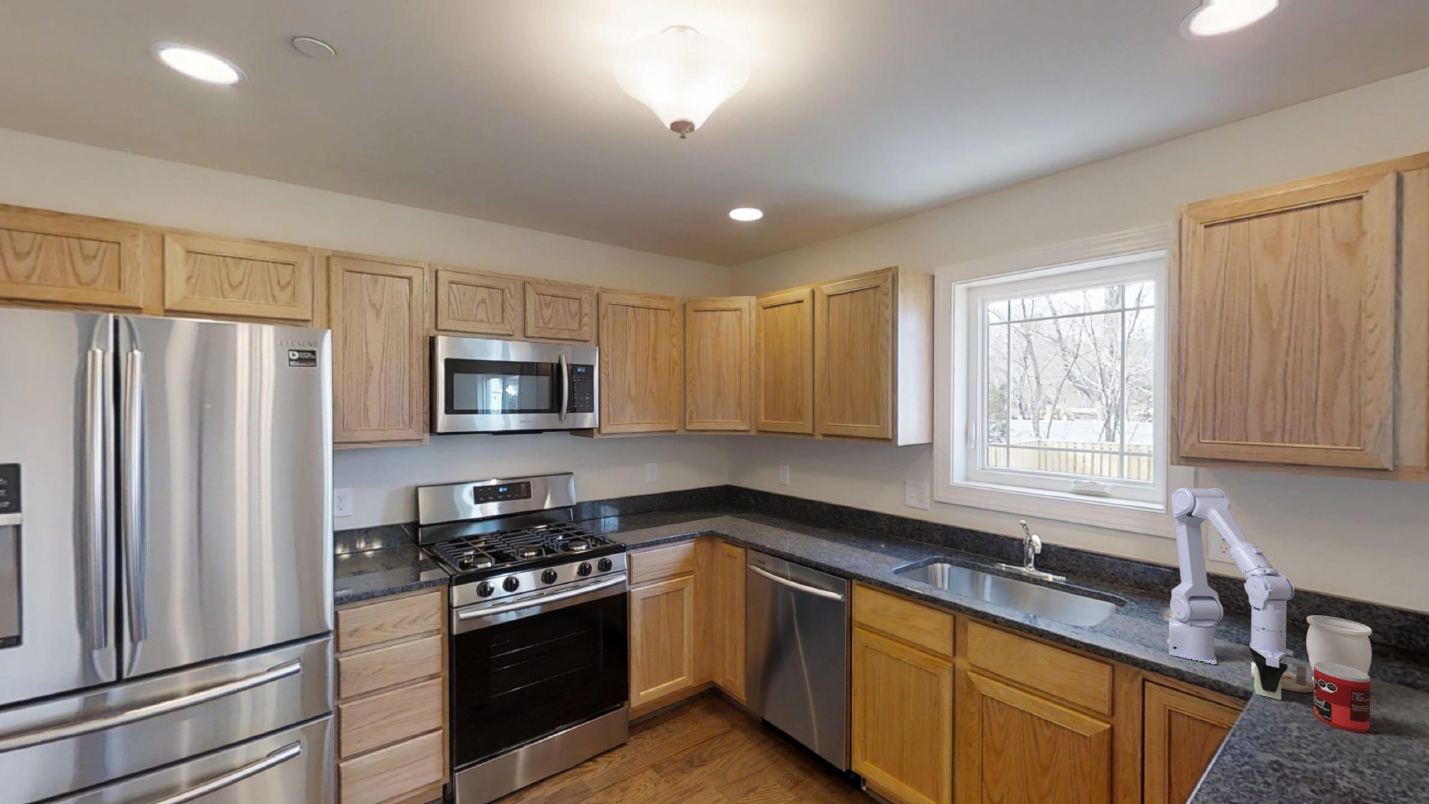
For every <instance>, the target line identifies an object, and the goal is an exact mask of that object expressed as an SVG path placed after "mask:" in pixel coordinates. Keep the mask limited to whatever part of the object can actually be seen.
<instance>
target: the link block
mask: <svg viewBox="0 0 1429 804" xmlns="http://www.w3.org/2000/svg"><path fill="white" fill-rule="evenodd" d="M1253 685H1254V686H1253V689H1254V691H1255V693H1256V695H1258V696H1264V697H1268V698H1271V699H1275V700H1282V688H1281V678H1280V681H1279V684H1278V688H1277V690H1276V692H1275V693H1273V692H1269V691H1265V690H1263V689H1262V686H1261V682H1260V676H1259V671H1258V668H1257V666H1255V668H1254V679H1253Z"/></svg>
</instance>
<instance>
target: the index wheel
mask: <svg viewBox="0 0 1429 804" xmlns="http://www.w3.org/2000/svg"><path fill="white" fill-rule="evenodd" d="M1281 689H1283V690H1286V691H1291V692H1296V693H1305V694H1308V693H1309V694H1310V693H1312V692H1313V690H1314V683H1313V681H1312V680H1309V678H1307V667H1306V666H1304V665H1300V664H1297V665H1296V672H1295V673H1292V672H1290V671H1285V672H1284V673H1283V675H1282V676H1281Z"/></svg>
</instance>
